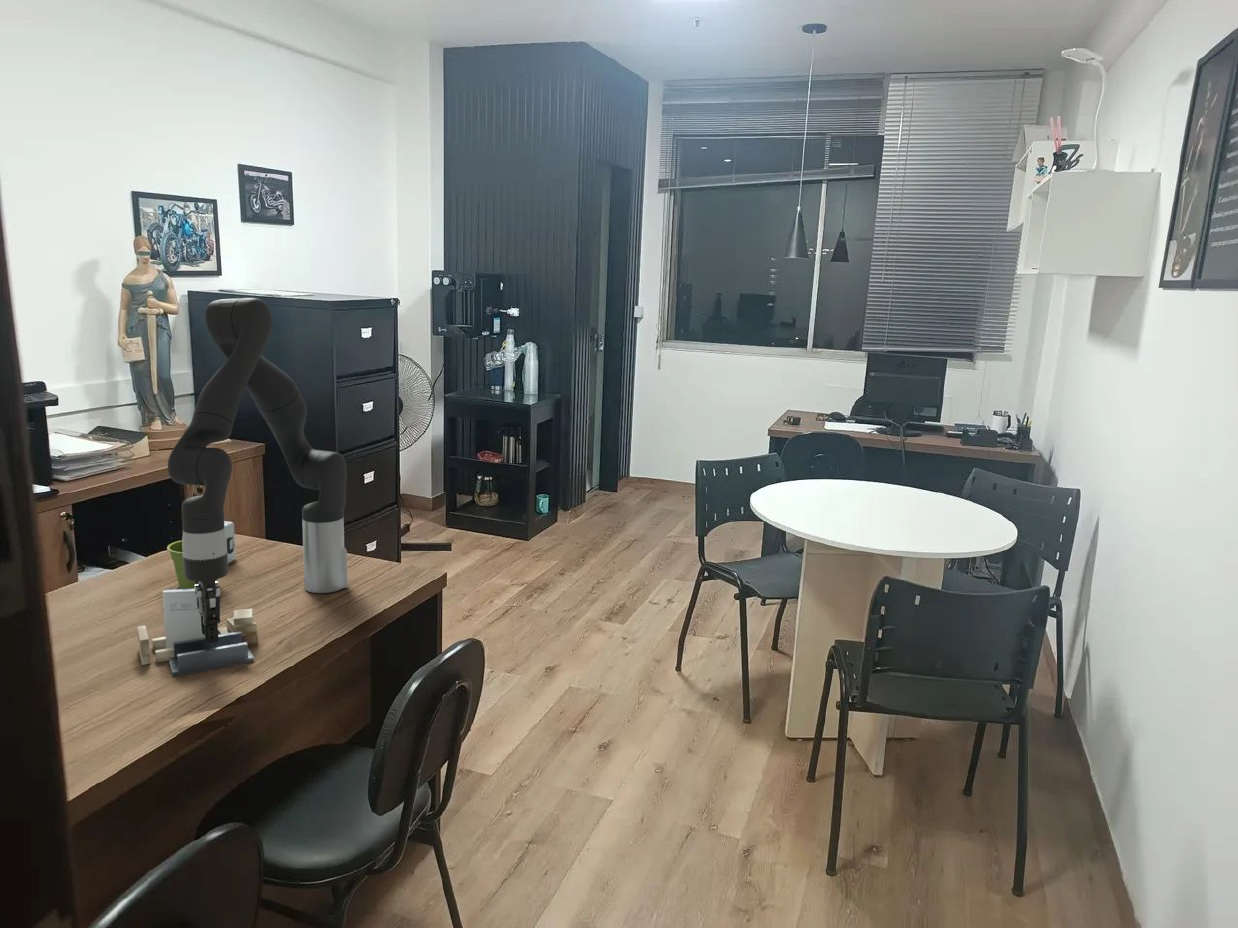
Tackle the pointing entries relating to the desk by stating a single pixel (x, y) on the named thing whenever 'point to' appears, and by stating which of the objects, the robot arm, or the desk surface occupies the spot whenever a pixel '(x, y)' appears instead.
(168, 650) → the frame
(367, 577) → the desk surface
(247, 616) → the offcut stack
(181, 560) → the plant pot
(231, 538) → the ink box
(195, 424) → the robot arm
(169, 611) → the hard drive
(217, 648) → the stand
